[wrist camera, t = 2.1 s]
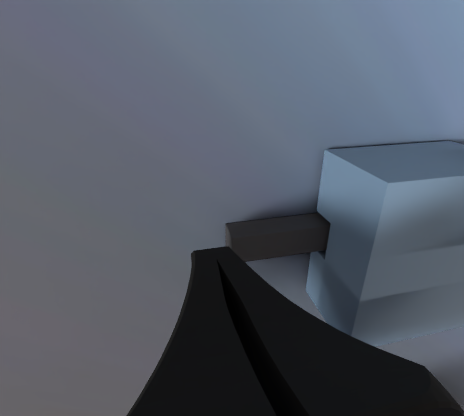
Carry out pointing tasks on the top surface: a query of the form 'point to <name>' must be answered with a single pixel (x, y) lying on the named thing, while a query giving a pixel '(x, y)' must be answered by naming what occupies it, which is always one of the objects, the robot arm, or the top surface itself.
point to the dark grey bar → (278, 236)
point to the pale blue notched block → (391, 241)
